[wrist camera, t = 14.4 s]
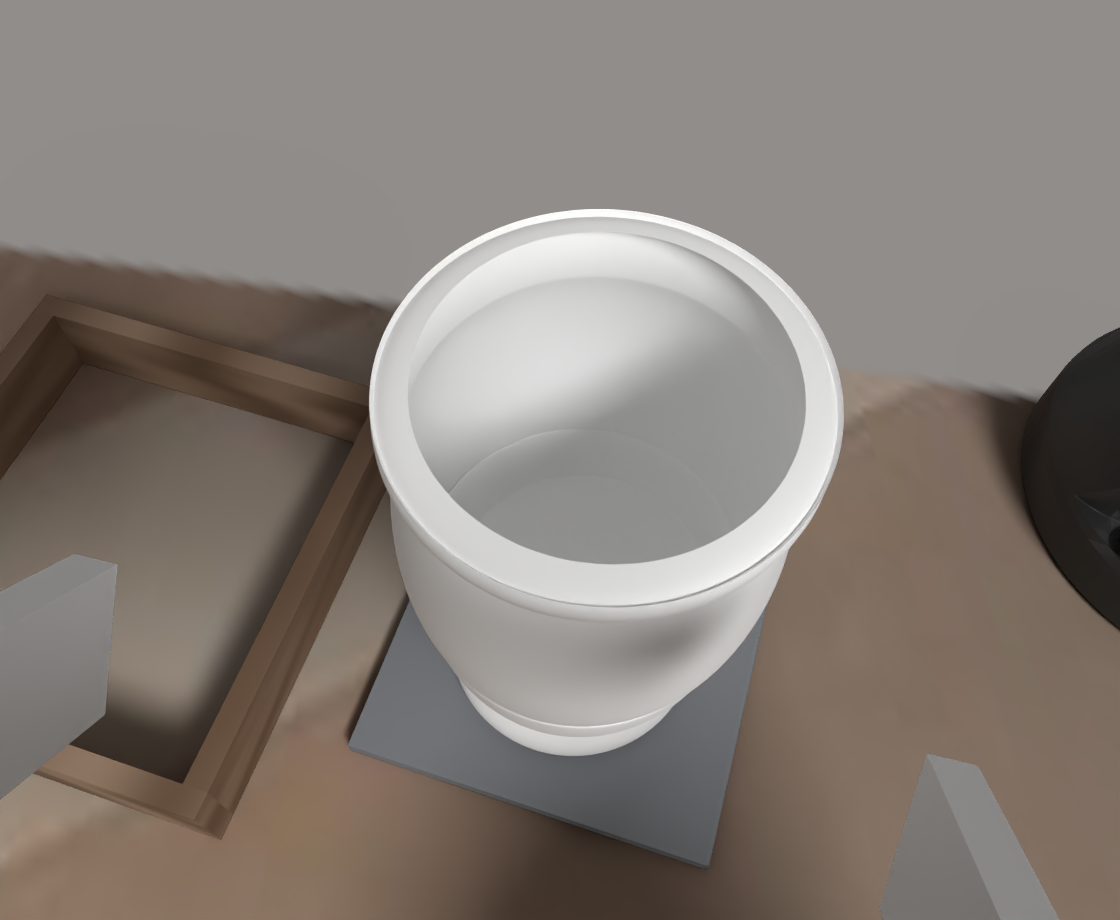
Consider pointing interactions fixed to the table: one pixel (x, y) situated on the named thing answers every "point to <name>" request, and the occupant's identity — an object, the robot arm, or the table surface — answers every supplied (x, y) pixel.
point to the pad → (565, 781)
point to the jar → (598, 463)
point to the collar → (310, 588)
